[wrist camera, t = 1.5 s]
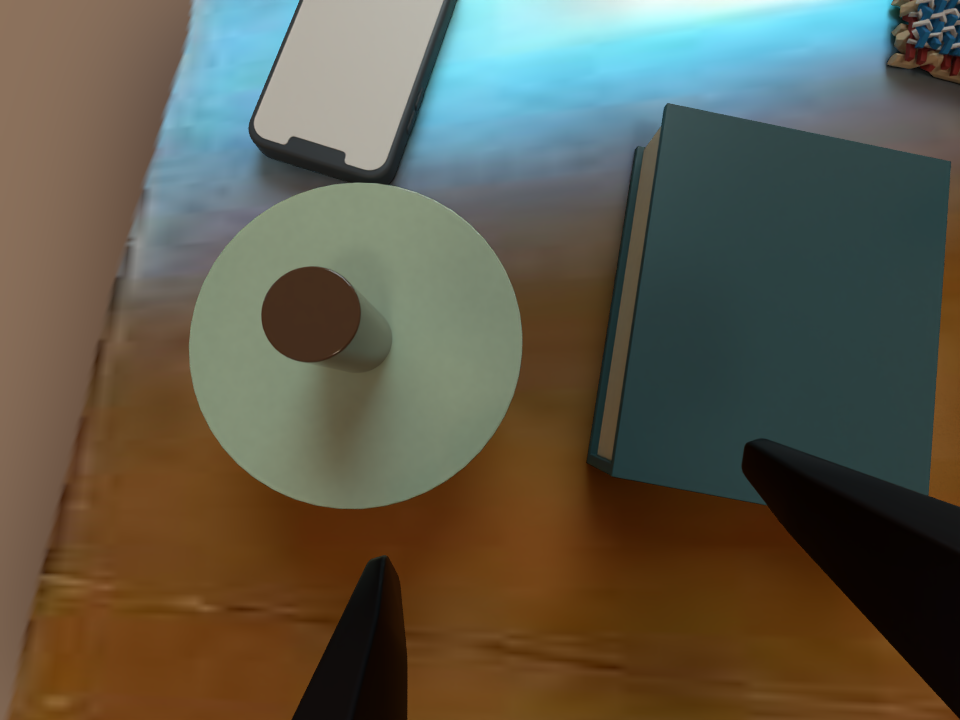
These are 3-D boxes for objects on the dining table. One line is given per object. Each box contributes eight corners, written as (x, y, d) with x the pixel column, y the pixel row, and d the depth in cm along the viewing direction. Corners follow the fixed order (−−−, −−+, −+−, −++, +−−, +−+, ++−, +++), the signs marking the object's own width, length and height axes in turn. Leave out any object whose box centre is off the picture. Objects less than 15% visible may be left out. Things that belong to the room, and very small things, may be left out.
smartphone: (339, -58, 26) (252, 156, 24) (331, -89, 24) (237, 138, 22) (467, -17, 26) (391, 198, 24) (467, -45, 24) (386, 184, 22)
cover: (569, 417, 17) (628, 428, 11) (280, 558, 16) (167, 656, 10) (441, 151, 18) (429, 25, 12) (160, 269, 17) (-10, 197, 11)
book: (847, 511, 23) (926, 535, 19) (586, 462, 23) (611, 476, 19) (874, 198, 25) (951, 161, 21) (635, 149, 25) (667, 102, 21)
